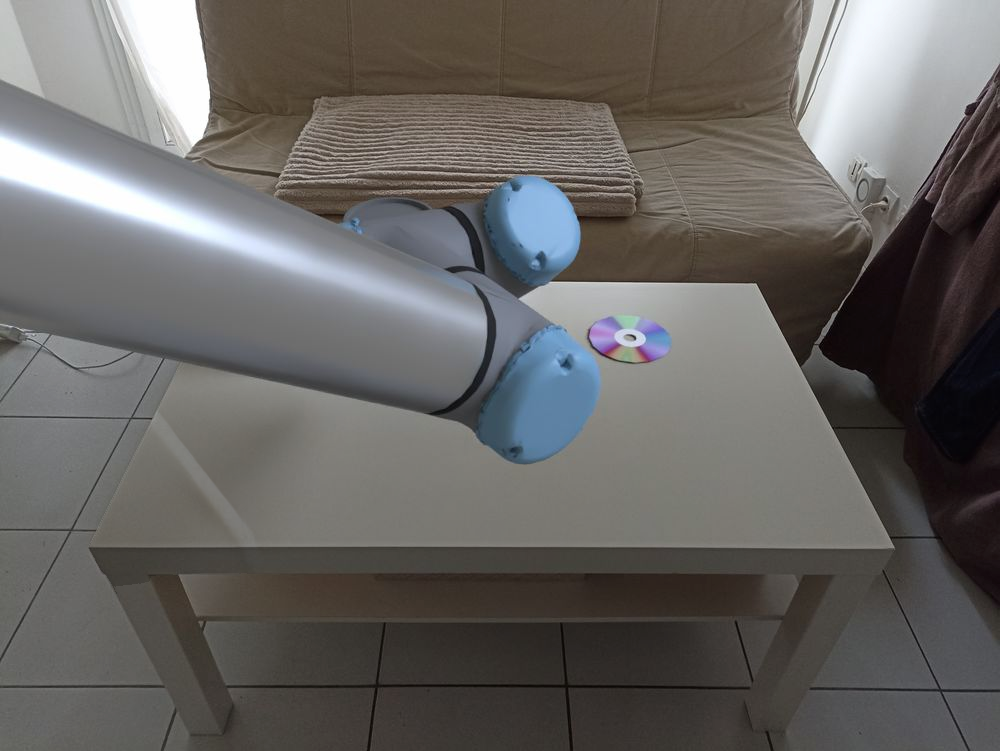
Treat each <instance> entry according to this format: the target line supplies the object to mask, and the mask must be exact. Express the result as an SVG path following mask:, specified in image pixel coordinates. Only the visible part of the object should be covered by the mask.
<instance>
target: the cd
mask: <svg viewBox="0 0 1000 751" xmlns="http://www.w3.org/2000/svg"><path fill="white" fill-rule="evenodd" d="M627 335H631V336H634V337H635V340H631V341H630V340H626V339H625V338H624V337H626V336H627ZM588 338H589V340H590V343H591V345H592V347H594V348H595V349H596V350H597V351H598V352H600V353H601V354H602V355H604V356H606V357H608V358H611V359H614V360H616V361H619V362H620V361H621V362H627V363H633V364H637V363H648V362H652V361H653V362H654V361H656V360H657V359H660V358H662V357H665V355H666V354H667V353H668V351H669V350H670V349H671V346H672V344H671V343H672V337H670V335H669V333H668V332H667V330H666V329H665V328H664V327H662V326H661V325H660V324H658V323H657V322H655V321H652V320H650V319H648V318H644V317H643V316H636V315H627V314H623V315H610V316H608V317H605V318H602V319H600V320H597V321H596V322H595V323H594V324H593V325H592V326H591V327H590V331H589V335H588Z"/></svg>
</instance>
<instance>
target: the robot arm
mask: <svg viewBox="0 0 1000 751" xmlns="http://www.w3.org/2000/svg"><path fill="white" fill-rule="evenodd" d="M580 244H581V226H580V222H579V220H578V216H577V214H576V212H575V208H574V206H573V205H572V202H571V201H570V200H569V198H568V197H567V195H566V194H564V192H563V191H562V190H561V189H560V188H558V186H556V185H555V184H554V183H552V182H550V181H549V180H546V179H544V178H542V177H539V176H536V175H528V174H523V175H518V176H515V177H511V178H510V179H508V180H506V181H505V182H504V183H501V185H497V186H495V187H494V188H493V189H491V190H490V191H489V193H488V194H487V195H486V197H485V198H483V199H480V200H476V201H472V202H466V203H457V204H452V205H446V206H442V207H438V208H432V209H431V210H424V211H416V212H409V213H402V214H394V215H387V216H379V217H372V218H364V219H358V218H352V219H351V220H350V221H347V222H343V221H342V222H339V223H336V222H334V221H331V220H329V219H327V218H324V217H322V216H320V215H317V214H315V213H313V212H310V211H308V210H306V209H303V208H301V207H299V206H297V205H294V204H292V203H290V202H287V201H285V200H282V199H281V198H278V197H276V196H274V195H271V194H268V193H266V192H265V191H261V190H259V189H256V188H255V187H252V186H250V185H248V184H246V183H243V182H241V181H238V180H236V179H233V178H232V177H229V176H227V175H224V174H222V173H220V172H218V171H215V170H212V169H211V168H208V167H206V166H203V165H201V164H199V163H196V162H194V161H192V160H189V159H188V158H185V157H182V156H180V155H178V154H175V153H173V152H170V151H169V150H166V149H164V148H162V147H160V146H157V145H155V144H152V143H150V142H148V141H145V140H143V139H140V138H138V137H135V136H133V135H130V134H129V133H126V132H124V131H123V130H119V129H117V128H115V127H113V126H111V125H107V124H106V123H103V122H100V121H99V120H96V119H95V118H91V117H89V116H87V115H84V114H82V113H80V112H77V111H75V110H72V109H71V108H68V107H66V106H64V105H62V104H59V103H57V102H55V101H52V100H50V99H47V98H45V97H42V96H40V95H38V94H36V93H33V92H31V91H28V90H26V89H24V88H22V87H19V86H18V85H15V84H13V83H10V82H7V81H6V80H3V79H1V78H0V325H4V326H8V327H13V328H18V329H22V330H23V329H24V330H28V331H32V332H37V333H42V334H46V335H50V336H51V335H52V336H55V337H61V338H66V339H70V340H74V341H75V340H76V341H79V342H80V341H81V342H85V343H89V344H94V345H99V346H102V347H103V346H104V347H107V348H113V349H118V350H122V351H127V352H130V353H131V352H133V353H136V354H142V355H144V356H145V355H146V356H150V357H155V358H160V359H164V360H170V361H174V362H179V363H184V364H188V365H193V366H198V367H202V368H207V369H212V370H217V371H222V372H225V373H231V374H235V375H240V376H244V377H250V378H254V379H259V380H264V381H267V382H272V383H278V384H283V385H287V386H292V387H297V388H301V389H306V390H311V391H315V392H321V393H325V394H331V395H334V396H340V397H344V398H348V399H354V400H359V401H363V402H366V403H367V402H368V403H372V404H376V405H377V404H378V405H381V406H386V407H391V408H397V409H400V410H404V411H410V412H414V413H420V414H423V415H427V416H432V417H435V418H440V419H443V420H448V421H453V422H457V423H459V424H462V425H464V426H465V427H467V428H468V429H470V430H471V431H472V432H473V433H474V434H475V437H476V438H477V439H478V441H479V442H480V443H481V444H482V445H483V446H487V447H488V448H490V449H491V450H492V451H494V452H495V453H496V454H498V455H499V456H500V457H501V458H502V459H504V460H506V461H508V462H510V463H513V464H516V465H532V464H536V463H540V462H543V461H545V460H548V459H550V458H552V457H553V456H555V455H557V454H558V453H560V452H561V451H562V450H564V449H565V448H566V447H568V446H569V445H570V444H571V443H572V442H573V441H574V440H575V439H576V438H577V437H578V435H579V434H580V433H581V432H582V431H583V428H584V426H585V425H586V423H587V421H588V419H589V418H590V417H591V416H592V414H593V412H594V411H595V409H596V406H597V403H598V400H599V397H600V392H601V385H602V378H601V371H600V367H599V364H598V363H597V360H596V358H595V357H594V356H593V354H591V353H590V351H589V350H587V349H586V348H585V347H584V346H582V344H581V343H579V342H578V341H577V340H576V339H575V338H573V337H572V336H571V334H569V333H568V331H567V329H566V328H565V327H564V326H562V325H559V324H558V325H556V324H555V323H553V321H551V320H549V319H548V318H546V317H545V316H543V315H542V314H541V313H539V312H538V311H537V310H535V309H534V308H532V307H530V306H529V305H528V304H526V303H525V302H523V301H522V300H521V298H522V297H524V296H526V295H528V294H529V293H531V292H533V291H534V290H536V289H537V288H539V287H544V286H546V285H548V284H550V282H551V281H552V280H553V279H554V278H555V277H557V276H558V275H559V274H560V273H562V272H563V271H564V270H566V269H567V268H568V267H569V266H570V265H571V264H572V263H573V262H574V260H575V258H576V256H577V254H578V252H579V249H580Z"/></svg>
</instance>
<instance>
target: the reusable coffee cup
mask: <svg viewBox="0 0 1000 751" xmlns="http://www.w3.org/2000/svg"><path fill="white" fill-rule="evenodd" d="M431 209H433V207H432V206H431V205H429V204H427V203H425V202H423V201H421V200H418V199H413V198H408V197H400V196H389V197H387V196H386V197H377V198H372V199H368V200H364V201H362V202H359V203H357V204H355V205H353V206H352V207H350V208H349V209H348V210H347V211H346V212H345V213H344V215H343V219H342V223H343V222H347V221H350V220H351V219H352V218H358V219H364V218H372V217H379V216H387V215H394V214H402V213H409V212H416V211H424V210H431Z"/></svg>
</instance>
